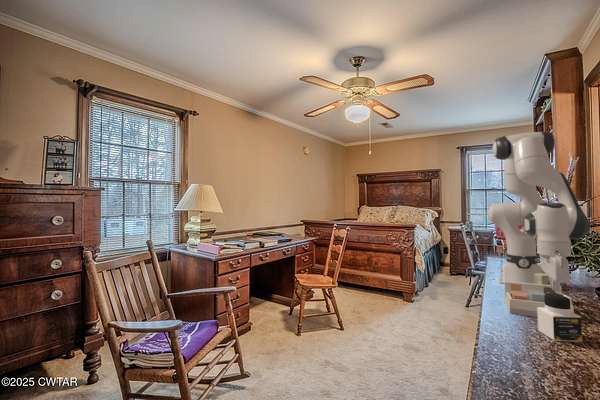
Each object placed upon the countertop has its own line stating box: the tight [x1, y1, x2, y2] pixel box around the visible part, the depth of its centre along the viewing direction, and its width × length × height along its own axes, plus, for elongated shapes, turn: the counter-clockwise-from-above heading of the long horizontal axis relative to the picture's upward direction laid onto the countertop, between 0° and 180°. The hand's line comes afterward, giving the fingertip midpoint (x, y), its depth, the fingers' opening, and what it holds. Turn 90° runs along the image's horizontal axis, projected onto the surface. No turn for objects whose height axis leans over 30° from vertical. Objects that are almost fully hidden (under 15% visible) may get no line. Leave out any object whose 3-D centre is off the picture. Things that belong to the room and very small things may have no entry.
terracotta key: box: [512, 292, 528, 301], centre depth 106 cm, size 5×4×2 cm
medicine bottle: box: [537, 293, 583, 343], centre depth 86 cm, size 7×7×12 cm
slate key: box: [529, 290, 545, 302], centre depth 104 cm, size 5×4×2 cm
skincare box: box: [534, 272, 551, 285], centre depth 118 cm, size 5×4×10 cm
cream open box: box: [503, 281, 575, 318], centre depth 106 cm, size 14×17×8 cm
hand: (555, 290), depth 101 cm, fingers closed
